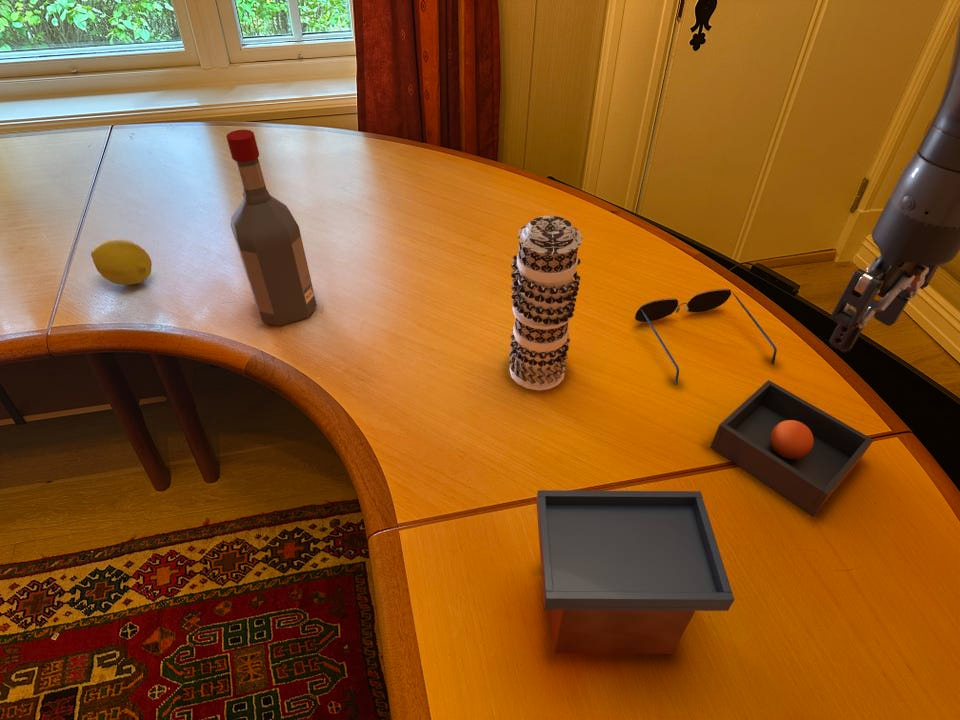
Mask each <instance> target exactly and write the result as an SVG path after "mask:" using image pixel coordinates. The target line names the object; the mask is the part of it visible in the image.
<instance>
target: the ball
mask: <svg viewBox="0 0 960 720" xmlns="http://www.w3.org/2000/svg"><path fill="white" fill-rule="evenodd" d="M770 442H771V445H772V447H773V449H774V450H775V451H776V452H777V453H778V454H779V455H780V456H782V457H785V458H788V459H798V458H801V457H804V456H805V455H807V454H808V453H809V452H810V450H811V449H812V447H813V443H814V439H813V435H812V432H811V431H810V429H809V428H808V427H807V426H806V425H805V424H803V423H801V422H799V421H795V420H786V421H783V422H780V423H779V424H777V425H776V426H775V427H774V428H773V430H772V432H771V435H770Z"/></svg>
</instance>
